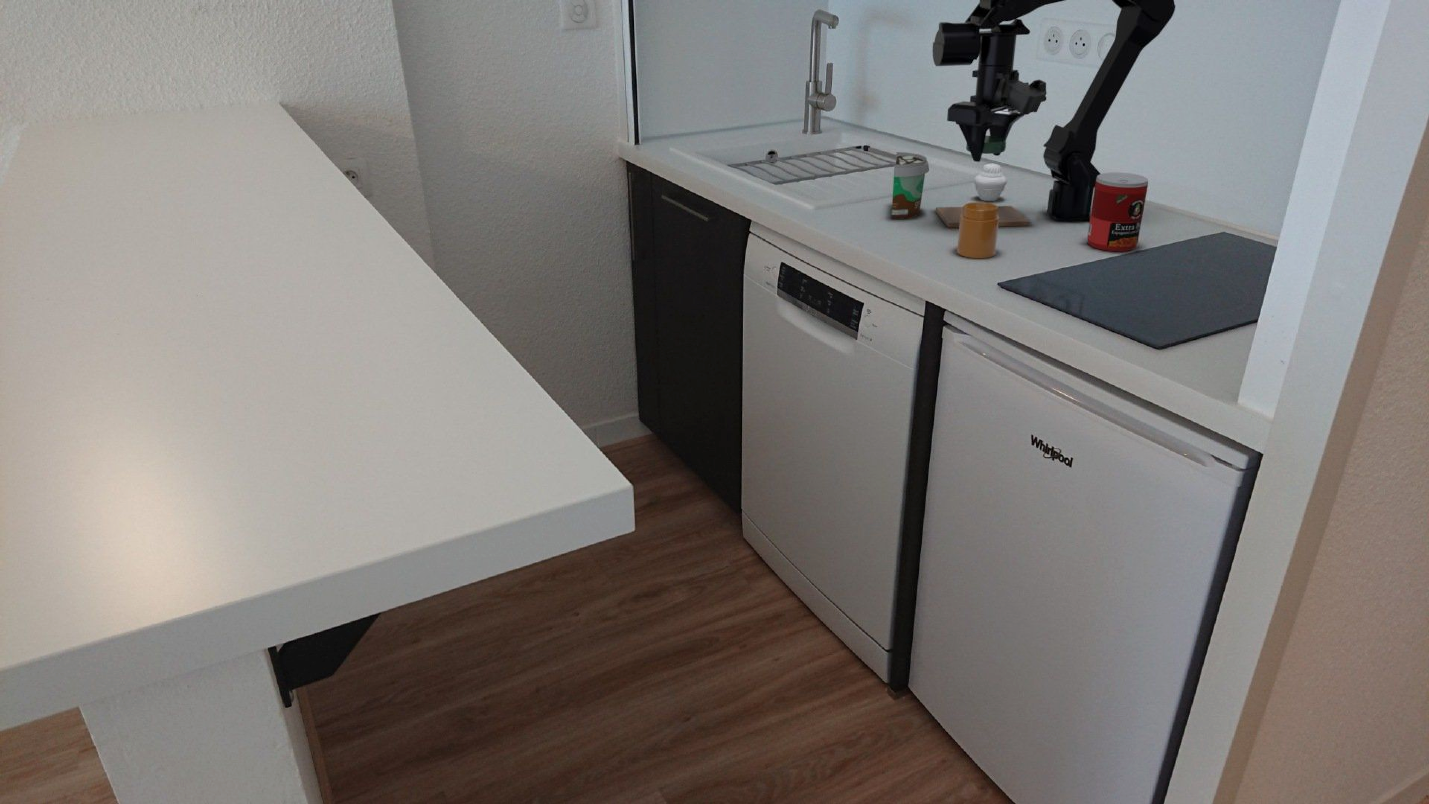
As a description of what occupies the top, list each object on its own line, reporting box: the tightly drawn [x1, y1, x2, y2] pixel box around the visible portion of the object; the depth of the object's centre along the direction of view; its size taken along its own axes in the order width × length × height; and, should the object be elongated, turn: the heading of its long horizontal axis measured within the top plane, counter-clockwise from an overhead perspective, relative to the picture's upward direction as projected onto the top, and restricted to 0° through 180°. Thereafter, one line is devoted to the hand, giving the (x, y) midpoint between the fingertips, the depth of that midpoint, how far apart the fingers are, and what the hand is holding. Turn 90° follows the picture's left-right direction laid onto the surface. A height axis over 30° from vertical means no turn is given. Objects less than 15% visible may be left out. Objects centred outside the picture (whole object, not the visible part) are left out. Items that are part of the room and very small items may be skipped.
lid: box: [966, 135, 1007, 155], centre depth 165 cm, size 6×6×2 cm
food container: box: [890, 151, 930, 220], centre depth 175 cm, size 12×6×10 cm, turn 168°
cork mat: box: [935, 205, 1029, 228], centre depth 172 cm, size 14×11×1 cm
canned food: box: [1086, 172, 1149, 252], centre depth 153 cm, size 8×8×11 cm
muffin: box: [973, 162, 1008, 202], centre depth 183 cm, size 6×6×7 cm
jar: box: [956, 201, 999, 259], centre depth 152 cm, size 6×6×8 cm
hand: (986, 158), depth 166 cm, fingers closed on lid, 6 cm apart
